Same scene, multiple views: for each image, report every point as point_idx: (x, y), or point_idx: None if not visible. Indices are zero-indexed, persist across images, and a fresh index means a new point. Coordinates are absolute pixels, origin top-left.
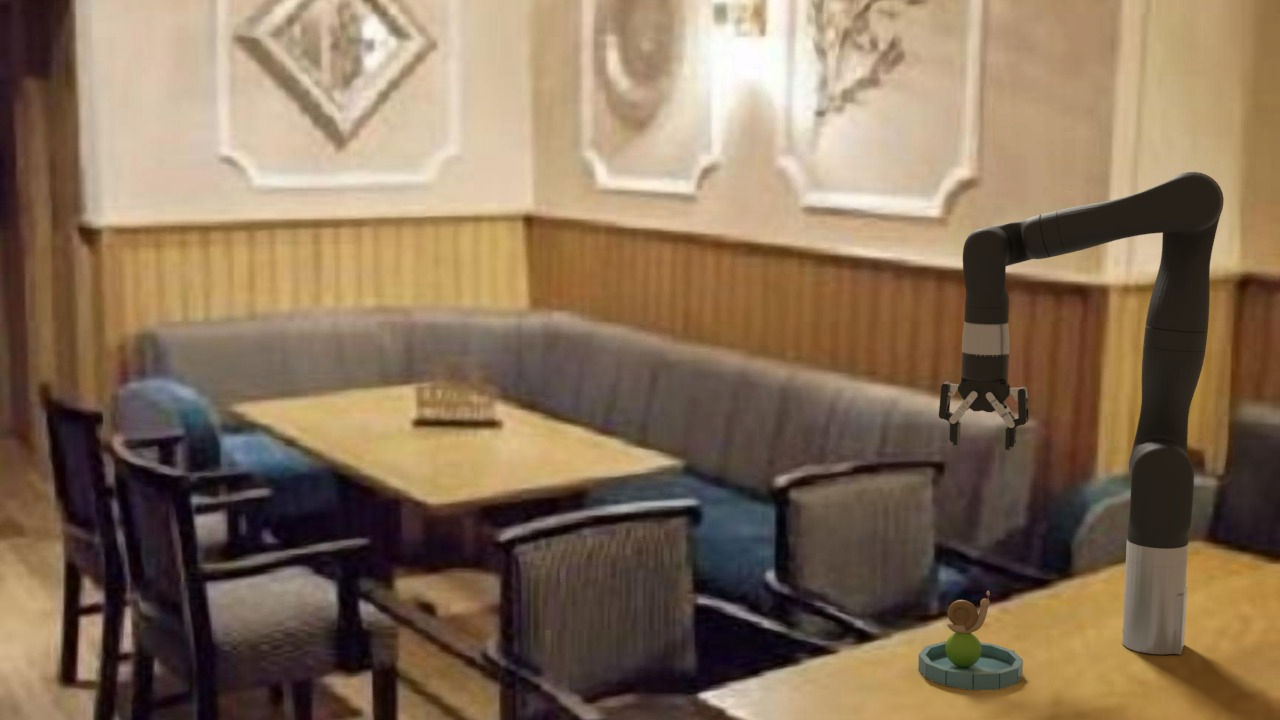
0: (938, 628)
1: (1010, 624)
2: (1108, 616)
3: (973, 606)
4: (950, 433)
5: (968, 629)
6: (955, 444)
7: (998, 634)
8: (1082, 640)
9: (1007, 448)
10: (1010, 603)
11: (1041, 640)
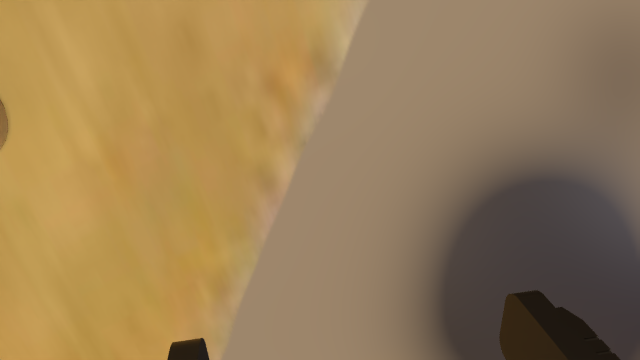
0: (342, 18)
1: (230, 110)
2: (98, 235)
3: None
4: (605, 349)
5: None
6: (524, 292)
7: (228, 39)
8: (75, 82)
9: (184, 344)
10: (269, 220)
11: (142, 43)
